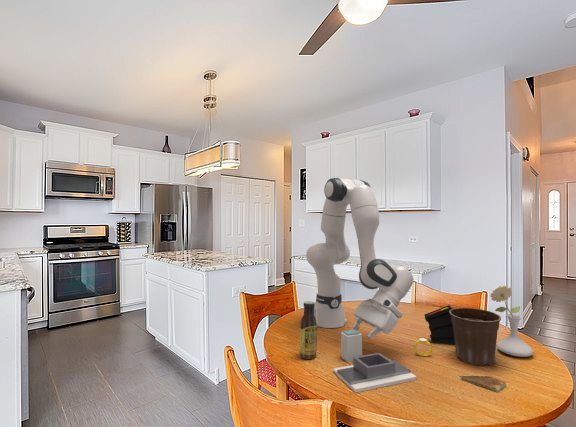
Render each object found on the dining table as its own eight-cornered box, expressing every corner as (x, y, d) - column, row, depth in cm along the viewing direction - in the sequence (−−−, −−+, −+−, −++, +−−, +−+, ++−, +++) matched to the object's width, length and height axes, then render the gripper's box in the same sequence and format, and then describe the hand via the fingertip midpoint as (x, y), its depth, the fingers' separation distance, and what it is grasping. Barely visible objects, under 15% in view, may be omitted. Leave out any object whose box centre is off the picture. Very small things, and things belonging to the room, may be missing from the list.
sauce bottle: (305, 361, 117) (304, 305, 117) (296, 355, 123) (296, 301, 123) (320, 357, 120) (320, 303, 120) (311, 351, 126) (311, 299, 126)
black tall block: (470, 342, 129) (451, 306, 131) (437, 353, 132) (420, 318, 134) (468, 339, 132) (450, 304, 134) (436, 350, 136) (419, 316, 137)
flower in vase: (527, 349, 126) (525, 283, 126) (538, 361, 115) (537, 290, 115) (488, 345, 130) (486, 282, 130) (495, 356, 119) (494, 287, 119)
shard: (459, 380, 103) (459, 374, 103) (469, 373, 108) (469, 367, 108) (498, 394, 95) (498, 388, 95) (507, 386, 100) (507, 380, 100)
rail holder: (333, 371, 109) (333, 356, 109) (389, 361, 116) (388, 347, 116) (355, 392, 96) (355, 375, 96) (416, 379, 103) (416, 363, 103)
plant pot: (502, 373, 107) (501, 323, 107) (447, 362, 115) (446, 316, 115) (501, 355, 120) (500, 311, 121) (452, 346, 129) (451, 305, 129)
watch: (415, 356, 121) (413, 340, 121) (414, 353, 123) (413, 337, 124) (433, 357, 119) (431, 340, 119) (432, 354, 122) (430, 338, 122)
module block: (341, 357, 120) (341, 330, 121) (355, 354, 122) (355, 328, 123) (347, 362, 116) (347, 335, 116) (362, 359, 118) (361, 332, 118)
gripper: (363, 292, 133) (342, 319, 130) (395, 305, 114) (371, 337, 110) (372, 302, 135) (352, 329, 131) (406, 316, 115) (383, 348, 112)
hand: (361, 333), depth 121 cm, fingers open, 8 cm apart
